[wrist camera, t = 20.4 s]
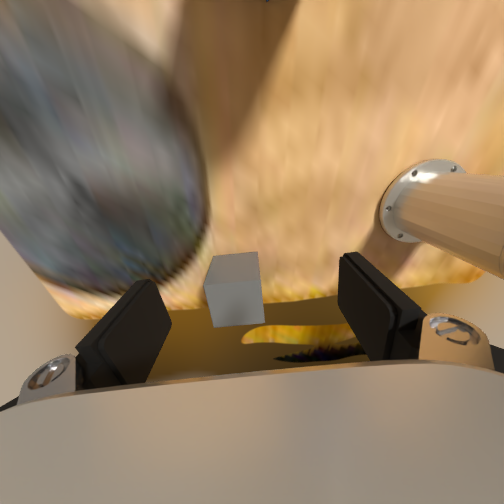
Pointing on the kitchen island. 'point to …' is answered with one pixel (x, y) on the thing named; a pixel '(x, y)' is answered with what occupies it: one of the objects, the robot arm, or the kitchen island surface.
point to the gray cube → (234, 290)
